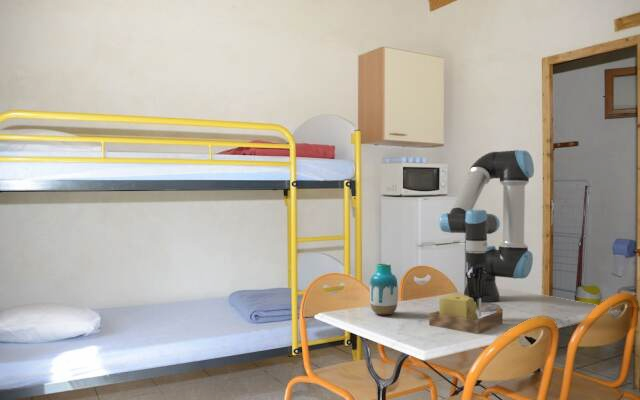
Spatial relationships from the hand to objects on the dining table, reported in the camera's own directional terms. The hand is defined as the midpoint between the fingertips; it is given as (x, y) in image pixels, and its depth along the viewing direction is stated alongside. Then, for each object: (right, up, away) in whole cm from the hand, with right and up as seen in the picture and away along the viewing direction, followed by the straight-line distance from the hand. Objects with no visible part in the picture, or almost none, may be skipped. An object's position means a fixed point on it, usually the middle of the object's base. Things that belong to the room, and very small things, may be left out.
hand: (476, 315), depth 196 cm
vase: (-33, -1, +8) cm, 34 cm away
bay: (-6, -1, -8) cm, 10 cm away
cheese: (-9, -2, -9) cm, 13 cm away
